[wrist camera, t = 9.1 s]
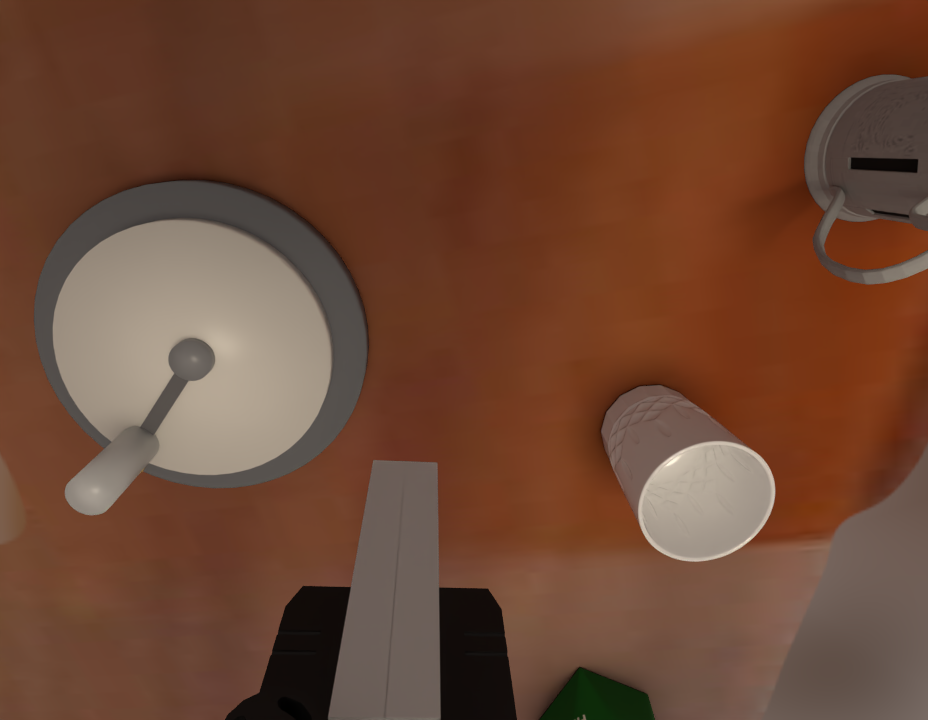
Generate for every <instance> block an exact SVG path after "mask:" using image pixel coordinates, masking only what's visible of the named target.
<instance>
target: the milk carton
mask: <svg viewBox="0 0 928 720" xmlns="http://www.w3.org/2000/svg"><path fill="white" fill-rule="evenodd" d="M540 720H655V718H654V714H653V711H652V708H651V704H650V701H649V697H648V694H645V693H643V692H640V691H638V690H635V689H633V688H630V687H628V686H625V685H623V684H620V683H618V682H615V681H613V680H610V679H608V678H605V677H603V676H600V675H598V674H595V673H593V672H590V671H588V670H585V669H583V668H579V669H578V670H577V671H576V673H575V674H574V675H573V677H572V678H571V679H570V681H569V682H568V683H567V685H566V686H565V687H564V689H563V690H562V691H561V692H560V694H559V695H558V696H557V698H556V699H555V700H554V702H553V703H552V704H551V706H550V707H549V708H548V709H547V711H546V712H545V713H544V715H543V716H542V717H541V719H540Z"/></svg>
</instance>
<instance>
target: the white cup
mask: <svg viewBox="0 0 928 720" xmlns="http://www.w3.org/2000/svg"><path fill="white" fill-rule="evenodd" d="M601 434H602V439H603V443H604V448H605V451H606V453H607V455H608V457H609V459H610V462H611V465H612V468H613V470H614V472H615V475H616V477H617V479H618V482H619V484H620V486H621V488H622V490H623V493H624V495H625V497H626V499H627V501H628V503H629V505H630V507H631V509H632V511H633V513H634V515H635V517H636V519H637V521H638V524H639V526H640V528H641V530H642V532H643V534H644V536H645V537H646V539H647V540H648V541H649V543H650V544H651V545H652V546H653V547H654V548H656V549H657V550H658V551H660V552H661V553H663V554H665V555H667V556H669V557H672V558H675V559H678V560H683V561H707V560H712V559H716V558H720V557H723V556H725V555H728V554H730V553H732V552H734V551H736V550H738V549H739V548H741V547H742V546H744V545H745V544H746V543H748V542H749V541H750V540H751V539H752V538H753V537H754V536H755V535H756V534H757V533H758V532H759V531H760V530H761V528H762V527H763V526H764V524H765V523H766V521H767V519H768V517H769V515H770V513H771V510H772V507H773V504H774V499H775V483H774V479H773V475H772V473H771V470H770V468H769V467H768V465H767V463H766V462H765V461H764V460H763V459H762V457H761V456H759V455H758V454H757V453H756V452H755V451H753V450H752V449H751V448H750V447H748V446H747V445H746V444H745V443H743V442H742V441H741V440H740V439H738V438H737V437H736V436H735V435H734V434H732V433H731V432H730V431H729V430H728V429H726V428H725V427H724V426H723V425H722V424H720V423H719V422H718V421H717V420H715V419H714V418H713V417H711V416H710V415H708V414H707V413H706V412H705V411H704V410H702V409H701V408H699V407H698V406H696V405H695V404H693V403H691V402H690V401H689V400H688V399H687V398H685V397H684V396H683V395H682V394H681V393H679V392H677V391H674V390H672V389H669V388H667V387H664V386H662V385H652V386H639V387H637V388H635V389H633V390H631V391H629V392H627V393H625V394H623V395H621V396H620V397H619V398H618V399H617V400H616V401H615V402H614V404H613V405H612V406H611V407H610V408H609V409H608V411H607V412H606V415H605V418H604V422H603V426H602V429H601Z"/></svg>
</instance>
